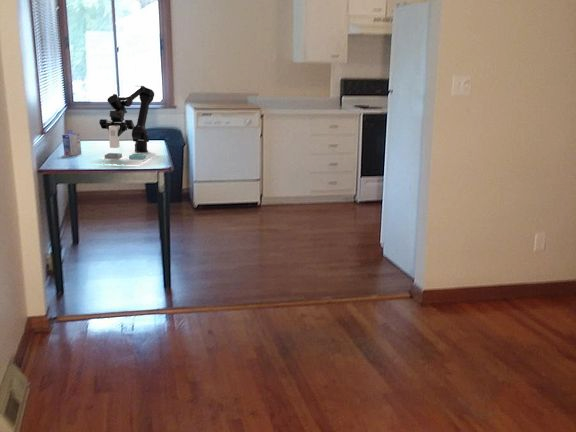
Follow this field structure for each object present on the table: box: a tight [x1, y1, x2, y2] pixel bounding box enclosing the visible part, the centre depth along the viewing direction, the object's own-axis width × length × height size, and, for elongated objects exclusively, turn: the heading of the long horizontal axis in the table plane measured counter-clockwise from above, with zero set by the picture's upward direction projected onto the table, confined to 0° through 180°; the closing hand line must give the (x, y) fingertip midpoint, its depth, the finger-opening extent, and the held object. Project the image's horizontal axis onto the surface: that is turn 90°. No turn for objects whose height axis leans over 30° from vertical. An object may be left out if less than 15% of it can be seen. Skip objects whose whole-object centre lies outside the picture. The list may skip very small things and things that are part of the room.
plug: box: [108, 126, 121, 149], centre depth 347 cm, size 5×4×12 cm
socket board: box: [101, 152, 150, 163], centre depth 350 cm, size 24×12×3 cm, turn 87°
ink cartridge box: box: [61, 129, 82, 157], centre depth 363 cm, size 10×6×14 cm, turn 161°
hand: (113, 135), depth 347 cm, fingers closed on plug, 4 cm apart
